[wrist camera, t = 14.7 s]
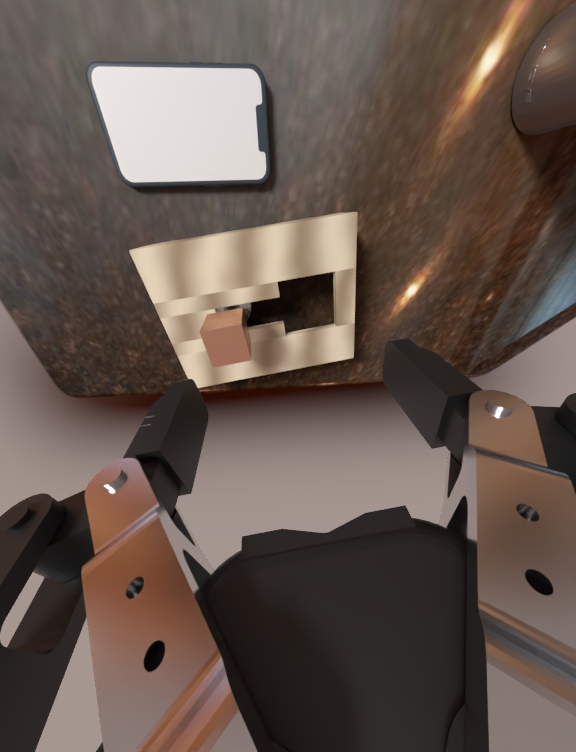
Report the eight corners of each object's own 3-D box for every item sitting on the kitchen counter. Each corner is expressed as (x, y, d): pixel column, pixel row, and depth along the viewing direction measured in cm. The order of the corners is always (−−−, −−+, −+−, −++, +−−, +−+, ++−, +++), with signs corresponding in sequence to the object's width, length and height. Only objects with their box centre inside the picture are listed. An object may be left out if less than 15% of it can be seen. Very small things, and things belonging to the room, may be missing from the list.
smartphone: (128, 189, 27) (270, 186, 28) (121, 188, 25) (271, 184, 27) (89, 67, 22) (264, 69, 23) (78, 57, 20) (264, 60, 22)
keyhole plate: (339, 212, 30) (357, 211, 25) (340, 340, 40) (353, 357, 35) (148, 244, 29) (128, 250, 24) (199, 367, 39) (192, 388, 34)
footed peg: (246, 284, 33) (245, 318, 22) (254, 318, 36) (257, 363, 25) (211, 291, 33) (192, 328, 22) (221, 324, 36) (209, 372, 25)
